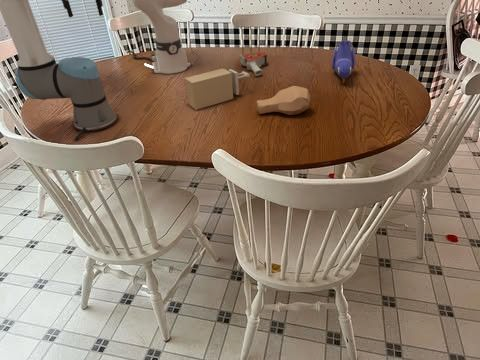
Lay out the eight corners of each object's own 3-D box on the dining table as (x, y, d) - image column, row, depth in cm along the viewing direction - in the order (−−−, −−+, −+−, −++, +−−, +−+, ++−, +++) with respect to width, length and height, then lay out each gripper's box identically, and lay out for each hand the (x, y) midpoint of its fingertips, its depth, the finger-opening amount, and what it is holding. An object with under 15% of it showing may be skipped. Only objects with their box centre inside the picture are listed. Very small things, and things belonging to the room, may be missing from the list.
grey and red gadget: (258, 80, 163) (278, 64, 175) (258, 69, 159) (279, 54, 172) (226, 73, 170) (248, 58, 183) (226, 62, 167) (248, 48, 179)
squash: (314, 116, 128) (313, 95, 122) (259, 125, 130) (256, 105, 124) (308, 99, 136) (307, 78, 129) (257, 108, 138) (253, 88, 131)
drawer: (244, 86, 152) (243, 66, 146) (251, 90, 148) (250, 69, 143) (198, 99, 143) (195, 78, 138) (204, 104, 139) (202, 82, 134)
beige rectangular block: (225, 93, 149) (223, 68, 143) (233, 98, 144) (231, 72, 138) (188, 104, 142) (184, 78, 136) (195, 109, 138) (192, 83, 131)
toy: (330, 77, 169) (331, 86, 146) (332, 39, 162) (333, 43, 140) (352, 76, 166) (356, 85, 144) (355, 38, 160) (360, 41, 137)
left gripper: (103, -43, 147) (116, 12, 159) (44, -40, 148) (62, 15, 160) (97, -42, 141) (111, 16, 153) (35, -38, 142) (55, 19, 154)
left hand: (86, 16), depth 157 cm, fingers open, 13 cm apart
